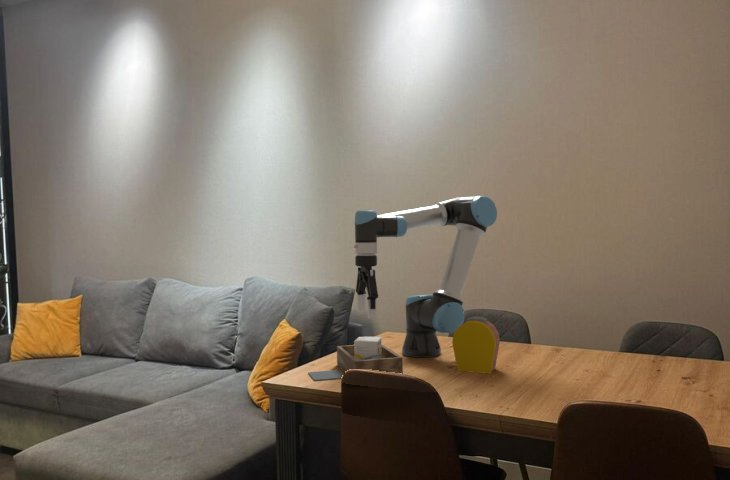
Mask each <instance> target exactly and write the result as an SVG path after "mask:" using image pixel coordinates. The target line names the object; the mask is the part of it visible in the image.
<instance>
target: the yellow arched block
mask: <svg viewBox="0 0 730 480" xmlns="http://www.w3.org/2000/svg"><path fill="white" fill-rule="evenodd" d="M452 336H453V337H452V341H451V342H452V347H453V353H454V359H455V365H456V369H457V370H460V371H459V372H465V371H473V372H472V373H477V372H485V373H484V374H488V373H490V374H491V373H492V372H493V371H495V369H496V366H497V359H498V354H499V350H500V349H499V348H500V342H501V339H500V334H499V331H498V330H497V328H496V327H495V325H494V324H493V323H492V322H490V321H488V318H486V317H482V316H478V315H477V316H471V317H468V318H466V321H465V322H463V324H462V325H461V326H459V327H458V328H457V330H456V331H455V332H453V335H452Z"/></svg>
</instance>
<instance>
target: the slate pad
mask: <svg viewBox="0 0 730 480" xmlns="http://www.w3.org/2000/svg"><path fill="white" fill-rule="evenodd" d="M307 373H308V375H309V376H310V378H311V379H312V380H313V381H314V382H321V381H331V380H332V381H333V380H342V379H341V377H342V375H343V374H344V373H343V372H342V371H341V369H333V370H319V371H310V372H307Z"/></svg>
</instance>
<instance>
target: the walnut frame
mask: <svg viewBox="0 0 730 480" xmlns="http://www.w3.org/2000/svg"><path fill="white" fill-rule="evenodd" d="M381 351H382V359H370V360H358V361H357V360H356V359H355V358H354V344H349V345H337V346H336V365H337V366H338V367H339V368H340V370H342V371H343V372H344V373H345V371H347V370H349V369H372V370H379V371H386V372H395V373H402V374H403V375H404V369H403V368H404V365H403V362H404V359H403V357H402V356H401V355H399V354H398V353H396V352H395V351H392V350H391V349H390V348H388V347H387V346H385V345H383V344H382V343H381Z"/></svg>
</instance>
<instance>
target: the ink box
mask: <svg viewBox="0 0 730 480" xmlns="http://www.w3.org/2000/svg"><path fill="white" fill-rule="evenodd" d="M381 344H382V336H358V337H357V338H356V339H355V340H354V341H353V345H354V358H355V359H356V360H357V361H358V360H370V359H382V351H381Z"/></svg>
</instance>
